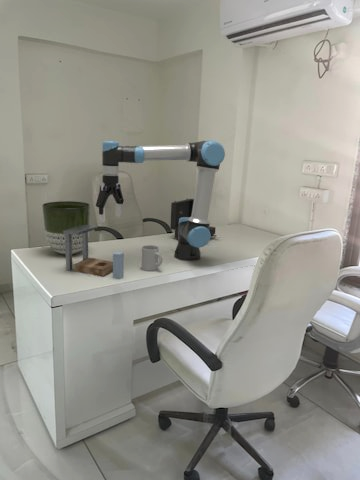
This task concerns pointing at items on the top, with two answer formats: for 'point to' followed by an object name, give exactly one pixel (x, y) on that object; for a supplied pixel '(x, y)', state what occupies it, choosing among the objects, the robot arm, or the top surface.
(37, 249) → the top surface
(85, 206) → the planter
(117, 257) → the peg
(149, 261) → the mug
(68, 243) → the grey arch frame
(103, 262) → the socket block
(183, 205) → the watch box
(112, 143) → the robot arm
